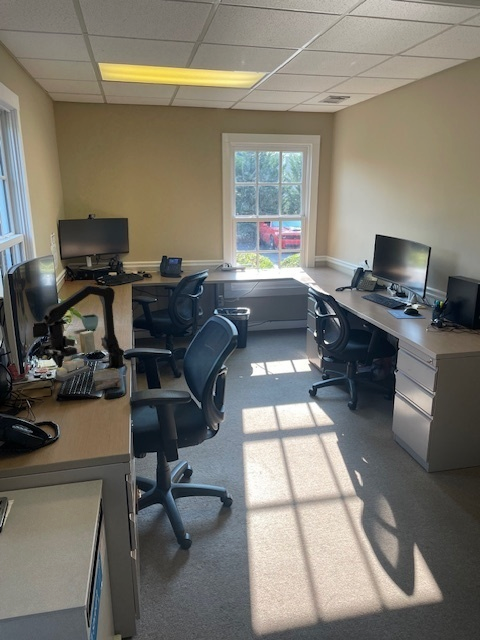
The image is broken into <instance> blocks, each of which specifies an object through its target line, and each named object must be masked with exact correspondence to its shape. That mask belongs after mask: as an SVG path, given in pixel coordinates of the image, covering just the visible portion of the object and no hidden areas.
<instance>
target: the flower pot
mask: <svg viewBox="0 0 480 640" xmlns="http://www.w3.org/2000/svg"><path fill="white" fill-rule="evenodd" d="M80 319H81V323H82V326H83V327H84V329H85V330H86V329H87V330H86V331H88V330H89V331H94V330H93V329H95V330H97V328H98V325H99V316H98V315H96V314H94V313H93V314H87V315H86V314H84V315H81V316H80Z"/></svg>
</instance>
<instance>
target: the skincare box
mask: <svg viewBox="0 0 480 640" xmlns="http://www.w3.org/2000/svg"><path fill="white" fill-rule="evenodd" d="M79 342H80V351H81V354H82V353H84V354H87V353H90V352H93V351H96V345H95V344H96V343H95V336H94V330H89V331H88V330H86V331H82V332H79Z"/></svg>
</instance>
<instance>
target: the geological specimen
mask: <svg viewBox="0 0 480 640" xmlns="http://www.w3.org/2000/svg"><path fill="white" fill-rule="evenodd" d="M93 379H94V387H95V391H96V392H99V391H100V390H105V389H109V388H120V389H121V388H122V381H121V380H122V376H121V374H120V372H119V369H118V368H117V369H116V368H111V367H107V368H105V369H100V370H99V369H98V370H95V371H93Z"/></svg>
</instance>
